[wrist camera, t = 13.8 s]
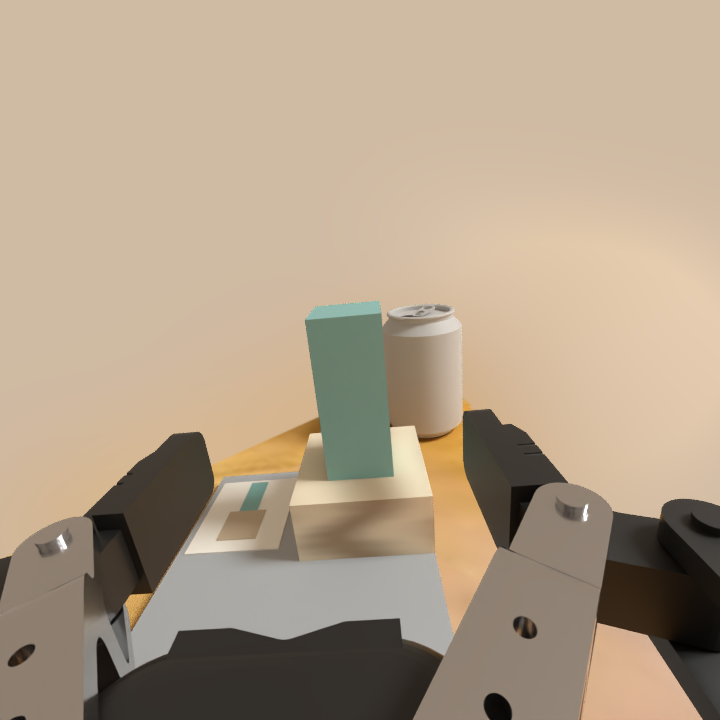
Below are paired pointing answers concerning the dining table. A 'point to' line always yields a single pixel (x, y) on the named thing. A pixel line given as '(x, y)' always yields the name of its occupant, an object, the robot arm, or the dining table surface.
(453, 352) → the can
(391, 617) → the mat
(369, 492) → the base block
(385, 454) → the pillar
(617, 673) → the dining table surface
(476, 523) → the dining table surface
